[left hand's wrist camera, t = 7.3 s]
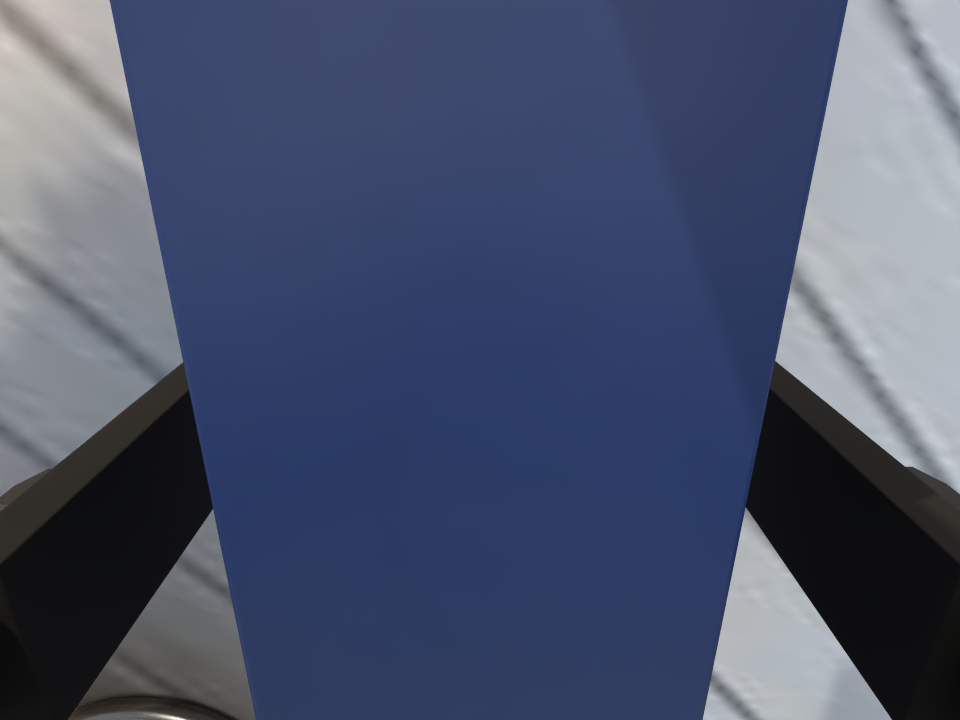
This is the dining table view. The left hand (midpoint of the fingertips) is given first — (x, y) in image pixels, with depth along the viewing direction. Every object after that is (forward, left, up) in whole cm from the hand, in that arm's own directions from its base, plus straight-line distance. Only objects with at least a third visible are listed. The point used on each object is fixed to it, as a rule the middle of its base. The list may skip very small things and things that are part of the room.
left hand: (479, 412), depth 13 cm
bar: (+6, +10, -2) cm, 12 cm away
